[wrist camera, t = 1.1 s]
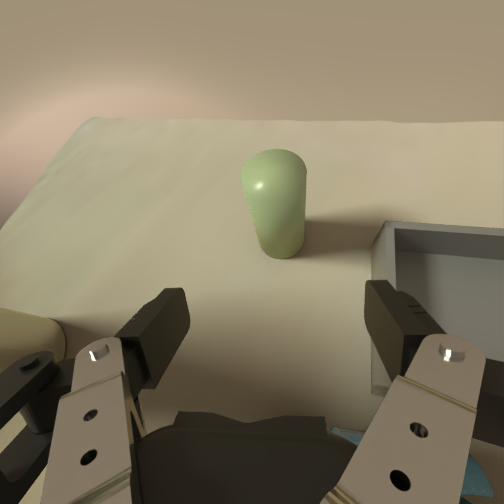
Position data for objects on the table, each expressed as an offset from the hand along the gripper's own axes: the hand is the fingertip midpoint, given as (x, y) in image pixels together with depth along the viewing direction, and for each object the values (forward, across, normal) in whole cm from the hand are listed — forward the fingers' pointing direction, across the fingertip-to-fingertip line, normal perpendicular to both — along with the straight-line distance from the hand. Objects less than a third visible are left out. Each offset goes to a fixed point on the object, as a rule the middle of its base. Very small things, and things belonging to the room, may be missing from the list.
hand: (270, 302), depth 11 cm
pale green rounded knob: (+19, 0, +3) cm, 19 cm away
